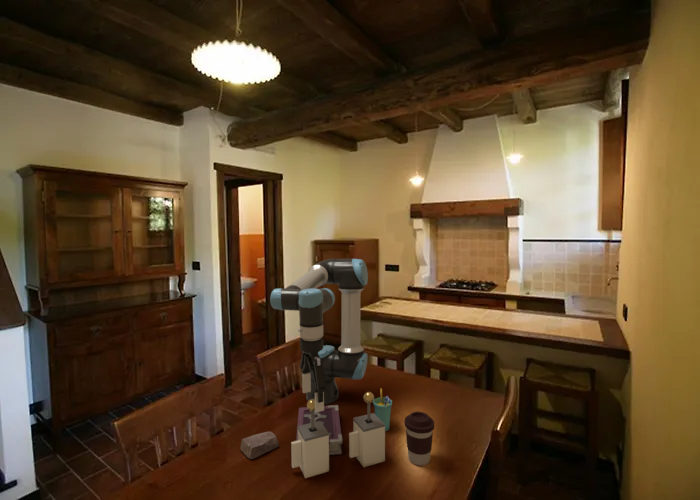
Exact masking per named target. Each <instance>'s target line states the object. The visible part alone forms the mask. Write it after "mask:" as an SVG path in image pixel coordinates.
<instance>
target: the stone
mask: <svg viewBox="0 0 700 500" xmlns="http://www.w3.org/2000/svg"><path fill="white" fill-rule="evenodd" d="M279 445H280V443H279V441H278V437H277V436H276V434H274V433H273V432H272V431H265V432H264V431H263V432H260V433H257V434H253V435H251V436H248V437H244V438H243V439H241V442H240V451H241V452H242V453H243V454H244V456H246V458H248V459H249V460H253V459H255V458H258V457H260V456H263V455H264V454H266V453H268V452H271V451H273V450H275V449H277V448H278V447H279Z"/></svg>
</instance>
